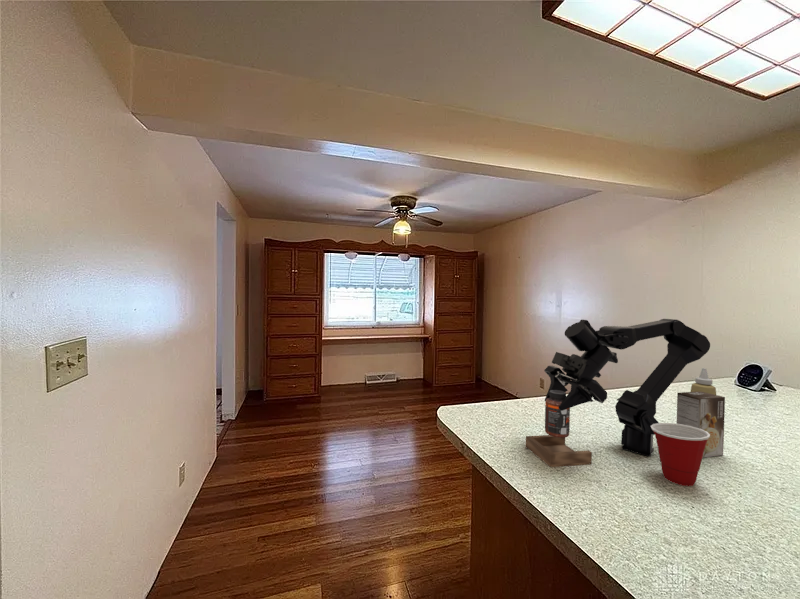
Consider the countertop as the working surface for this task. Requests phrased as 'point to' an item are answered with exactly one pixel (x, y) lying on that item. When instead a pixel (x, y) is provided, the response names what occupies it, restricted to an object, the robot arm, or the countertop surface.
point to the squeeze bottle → (703, 383)
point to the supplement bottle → (556, 415)
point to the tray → (556, 451)
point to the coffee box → (704, 417)
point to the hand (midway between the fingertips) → (552, 405)
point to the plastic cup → (680, 451)
